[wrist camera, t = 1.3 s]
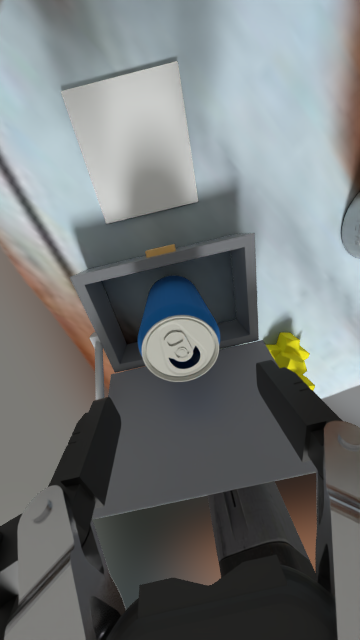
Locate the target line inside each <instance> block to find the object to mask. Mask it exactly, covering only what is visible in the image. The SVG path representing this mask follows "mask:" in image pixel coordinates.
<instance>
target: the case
mask: <svg viewBox="0 0 360 640" xmlns="http://www.w3.org/2000/svg"><path fill="white" fill-rule="evenodd" d="M226 251H230V253H231V264H232V275H233V286H234V297H235V307H236V318H237V319H236V320H231V321H227V322H223V323H218V324H217V325H218V327H219V331H220V345H219V349H221V348H226V347H230V346H235V345H239V344H243V343H248V342H252V341H257V340H259V339H258V312H257V285H256V258H255V233H242V234H233V235H229V236H225V237H221V238H217V239H212V240H208V241H204V242H200V243H196V244H191V245H187V246H183V247H179V248H175V244H171V245H167V246H163V247H159V248H154V249H150V250H146V251H145V253H146V255H145V256H141V257H137V258H133V259H129V260H124V261H120V262H116V263H112V264H108V265H103V266H99V267H95V268H91V269H87V270H85V271H83V272H80V273H78V274H76V275H74V276H71V277H70V279H71V281H72V283H73V285H74V287H75V289H76V292H77V294H78V296H79V298H80V300H81V302H82V304H83V306H84V308H85V311H86V313H87V315H88V317H89V319H90V321H91V323H92V325H93V327H94V329H95V332H94V333H93V334H92V335H91V336H90V340H91V342H92V344H93V346H94V348H95V382H96V400H98V399H102V398H104V374H103V348H104V351H105V353H106V355H107V357H108V359H109V361H110V363H111V365H112V367H113V369H114V372H120V371H124V370H129V369H133V368H138V367H142V366H146V365H145V363H144V361H143V358H142V356H141V354H140V351H139V348H138V342H135V343H131V344H126V341H125V339H124V336H123V334H122V331H121V329H120V326H119V324H118V321H117V319H116V317H115V314H114V312H113V309H112V307H111V304H110V302H109V299H108V297H107V294H106V292H105V289H104V287H103V284H102V282H101V281H103V280H107V279H111V278H116V277H120V276H124V275H128V274H133V273H137V272H141V271H145V270H149V269H154V268H158V267H162V266H166V265H171V264H175V263H179V262H183V261H188V260H192V259H196V258H200V257H204V256H209V255H213V254H217V253H221V252H226ZM267 360H272V361H274V363H275V364H276V365H277V363H276V362H275V360H274V358H273V357H272V355H271V353H270V352H269V350H268V348H267V347H266V345H265V343H264V342H263V340H261V341H257V342H252V343H248V344H244V345H239V346H235V347H230V348H226V349H222V350H219V353H218V357H217V359H216V361H215V363H214V365H213V366H212V367H211V368H210V369H209V370H208V371H207V372H206V373H205V374H203V375H202V376H200V377H198V378H196V379H193V380H189V381H184V382H173V381H168V380H164V379H162V378H160V377H158V376H156V375H155V374H153V373H152V372H151V371H150V370H149V369H148V368H147V366H146V367H142V368H138V369H133V370H129V371H124V372H120V373H116V374H111V380H110V387H109V395H108V397H110V398H111V399H112V401H113V403H114V405H115V407H116V409H117V411H118V413H119V414H120V417H121V430H120V435H119V440H118V444H117V449H116V454H115V458H114V463H113V468H112V473H111V477H110V482H109V487H108V491H107V496H106V501H105V505H104V507H99V508H95V509H94V511H93V519H96V518H101V517H106V516H111V515H115V514H120V513H125V512H130V511H134V510H139V509H144V508H148V507H153V506H158V505H162V504H168V503H172V502H177V501H182V500H187V499H191V498H196V497H201V496H205V495H210V494H215V493H220V492H225V491H229V490H234V489H239V488H243V487H248V486H253V485H258V484H262V483H267V482H272V481H277V480H281V479H286V478H290V477H295V476H300V475H305V474H310V473H315V472H316V471H317V469H316V467H315V466H314V464H313V463H312V461H311V460H310V461H306V462H302V461H301V460H300V458H299V456H298V455H297V453H296V451H295V450H294V448H293V447H292V445H291V443H290V442H289V440H288V439H287V437H286V435H285V434H284V432H283V431H282V429H281V427H280V426H279V424H278V422H277V421H276V419H275V418H274V416H273V414H272V413H271V411H270V410H269V408H268V406H267V405H266V403H265V402H264V400H263V398H262V397H261V395H260V393H259V390H258V387H257V377H256V363H258V362H263V361H267ZM277 366H278V365H277Z"/></svg>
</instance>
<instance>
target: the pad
mask: <svg viewBox="0 0 360 640" xmlns="http://www.w3.org/2000/svg"><path fill="white" fill-rule="evenodd" d="M61 94H62V97H63V100H64V103H65V106H66V108H67V111H68V114H69V117H70V120H71V123H72V126H73V129H74V132H75V134H76V137H77V140H78V143H79V146H80V149H81V152H82V155H83V158H84V161H85V163H86V166H87V169H88V172H89V175H90V178H91V181H92V184H93V187H94V189H95V192H96V195H97V198H98V201H99V204H100V207H101V210H102V213H103V216H104V218H105V221H106V224H109V223H113V222H117V221H121V220H126V219H130V218H134V217H138V216H142V215H146V214H150V213H154V212H158V211H163V210H167V209H171V208H175V207H179V206H183V205H187V204H191V203H196V202H198V196H197V189H196V182H195V175H194V168H193V162H192V155H191V148H190V141H189V134H188V128H187V121H186V114H185V107H184V100H183V94H182V87H181V80H180V73H179V66H178V61H175V62H171V63H168V64H164V65H160V66H156V67H152V68H148V69H144V70H141V71H137V72H133V73H129V74H125V75H121V76H117V77H113V78H110V79H106V80H102V81H98V82H94V83H90V84H86V85H83V86H79V87H75V88H71V89H67V90H63V91H61Z"/></svg>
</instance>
